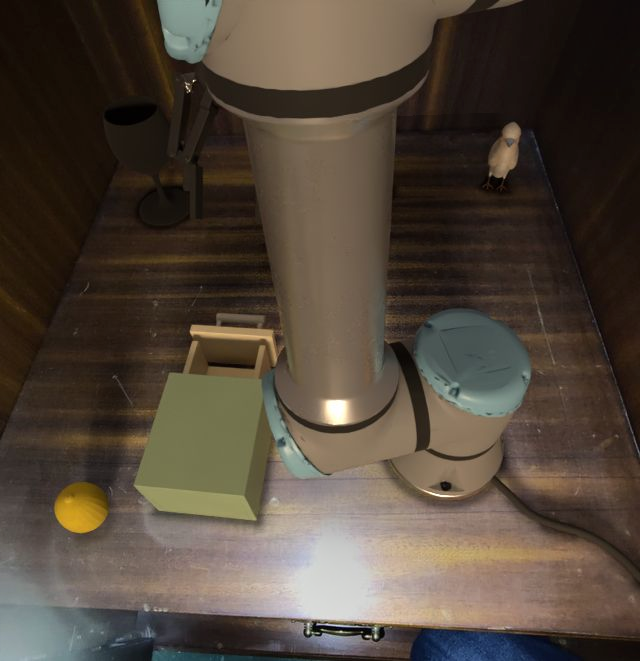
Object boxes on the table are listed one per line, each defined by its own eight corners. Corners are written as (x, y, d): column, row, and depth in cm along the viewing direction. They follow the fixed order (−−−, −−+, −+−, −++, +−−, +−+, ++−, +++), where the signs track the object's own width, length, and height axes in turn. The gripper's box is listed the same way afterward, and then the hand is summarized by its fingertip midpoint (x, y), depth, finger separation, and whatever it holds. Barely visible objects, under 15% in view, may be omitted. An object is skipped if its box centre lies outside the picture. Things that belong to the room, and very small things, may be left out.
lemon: (121, 493, 66) (97, 471, 60) (113, 538, 63) (86, 520, 57) (79, 495, 67) (50, 474, 60) (68, 540, 63) (36, 523, 57)
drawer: (210, 331, 80) (199, 300, 73) (283, 336, 78) (278, 305, 72) (180, 439, 69) (164, 413, 63) (264, 446, 68) (255, 421, 62)
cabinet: (188, 406, 73) (169, 372, 65) (275, 413, 72) (266, 379, 64) (158, 510, 65) (132, 485, 57) (256, 520, 64) (244, 496, 56)
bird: (476, 209, 94) (495, 136, 82) (485, 163, 101) (504, 90, 89) (504, 213, 93) (527, 140, 81) (510, 167, 100) (533, 93, 88)
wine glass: (127, 216, 97) (83, 119, 81) (161, 183, 102) (126, 86, 86) (171, 233, 94) (135, 135, 78) (204, 198, 99) (176, 100, 83)
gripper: (320, 36, 64) (312, 224, 68) (160, 35, 66) (162, 218, 70) (312, 9, 56) (304, 222, 60) (133, 9, 58) (136, 215, 62)
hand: (228, 220), depth 65 cm, fingers open, 8 cm apart
